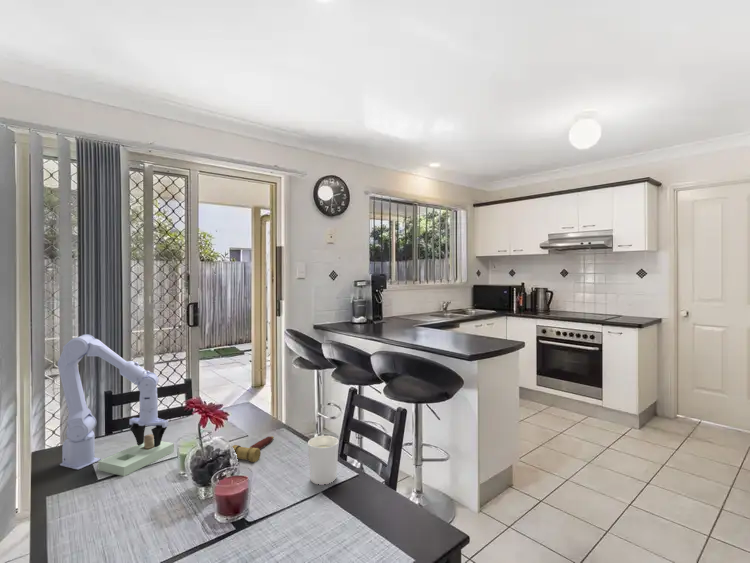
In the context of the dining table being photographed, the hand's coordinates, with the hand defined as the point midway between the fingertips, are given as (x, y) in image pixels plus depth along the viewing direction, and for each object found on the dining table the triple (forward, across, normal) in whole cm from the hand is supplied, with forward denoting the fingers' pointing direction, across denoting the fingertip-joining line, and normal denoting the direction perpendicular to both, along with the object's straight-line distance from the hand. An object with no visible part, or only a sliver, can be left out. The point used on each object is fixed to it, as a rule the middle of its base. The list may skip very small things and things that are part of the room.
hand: (148, 445), depth 149 cm
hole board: (+4, -1, -4) cm, 6 cm away
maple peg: (+4, 0, 0) cm, 4 cm away
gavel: (+4, +36, +12) cm, 39 cm away
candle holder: (+4, +67, -4) cm, 68 cm away
